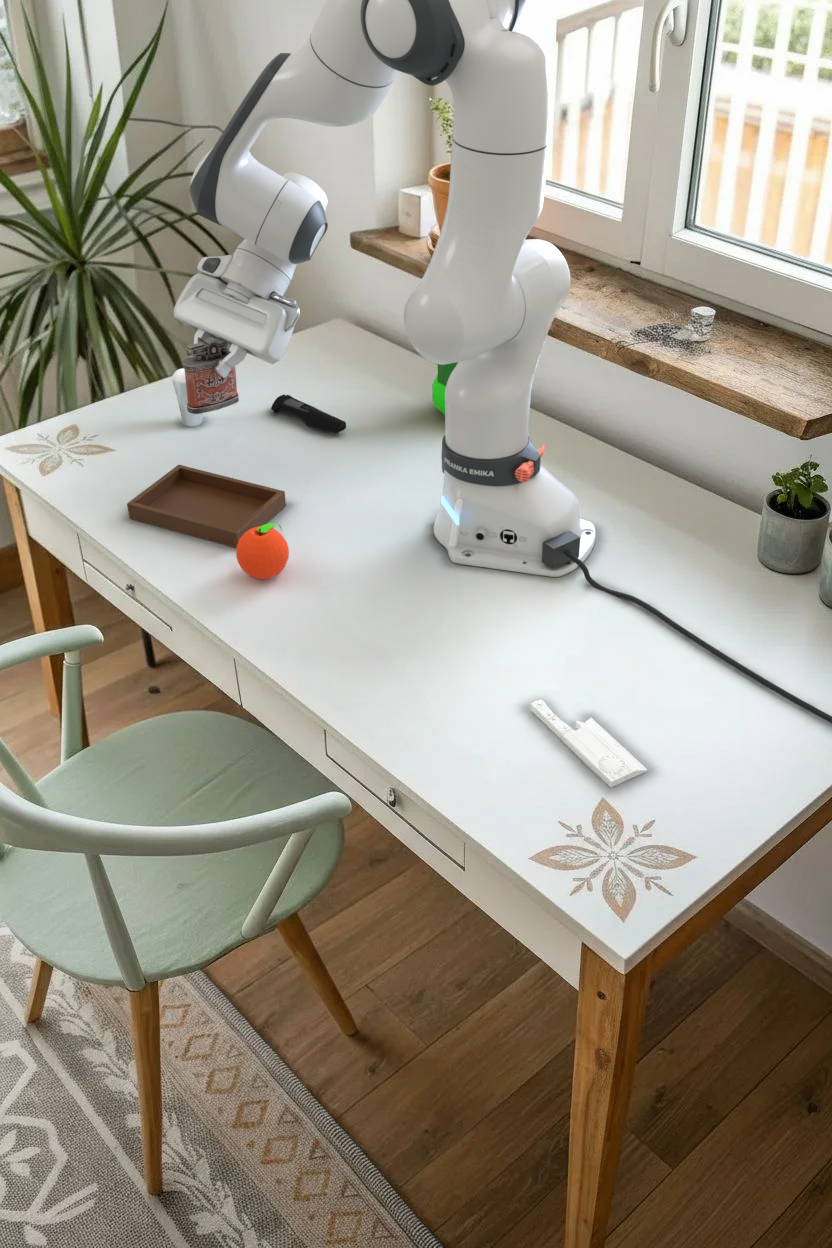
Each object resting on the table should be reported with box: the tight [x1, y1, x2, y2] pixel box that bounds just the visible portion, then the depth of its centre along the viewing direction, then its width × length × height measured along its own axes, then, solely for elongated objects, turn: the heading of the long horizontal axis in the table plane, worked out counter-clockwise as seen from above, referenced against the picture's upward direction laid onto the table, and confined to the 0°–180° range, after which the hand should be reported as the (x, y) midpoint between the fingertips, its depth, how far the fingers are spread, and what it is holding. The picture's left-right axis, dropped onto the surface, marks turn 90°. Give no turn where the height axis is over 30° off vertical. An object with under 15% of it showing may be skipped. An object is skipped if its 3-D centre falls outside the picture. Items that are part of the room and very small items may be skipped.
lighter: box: [182, 338, 240, 414], centre depth 174 cm, size 8×3×10 cm, turn 126°
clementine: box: [235, 522, 290, 580], centre depth 160 cm, size 8×7×7 cm
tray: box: [126, 464, 287, 549], centre depth 174 cm, size 19×13×2 cm
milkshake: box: [171, 367, 204, 428], centre depth 195 cm, size 5×5×10 cm
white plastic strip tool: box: [529, 698, 648, 788], centre depth 134 cm, size 5×15×1 cm, turn 30°
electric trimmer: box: [270, 394, 347, 435], centre depth 196 cm, size 4×16×3 cm, turn 47°
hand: (206, 369), depth 173 cm, fingers closed on lighter, 4 cm apart
